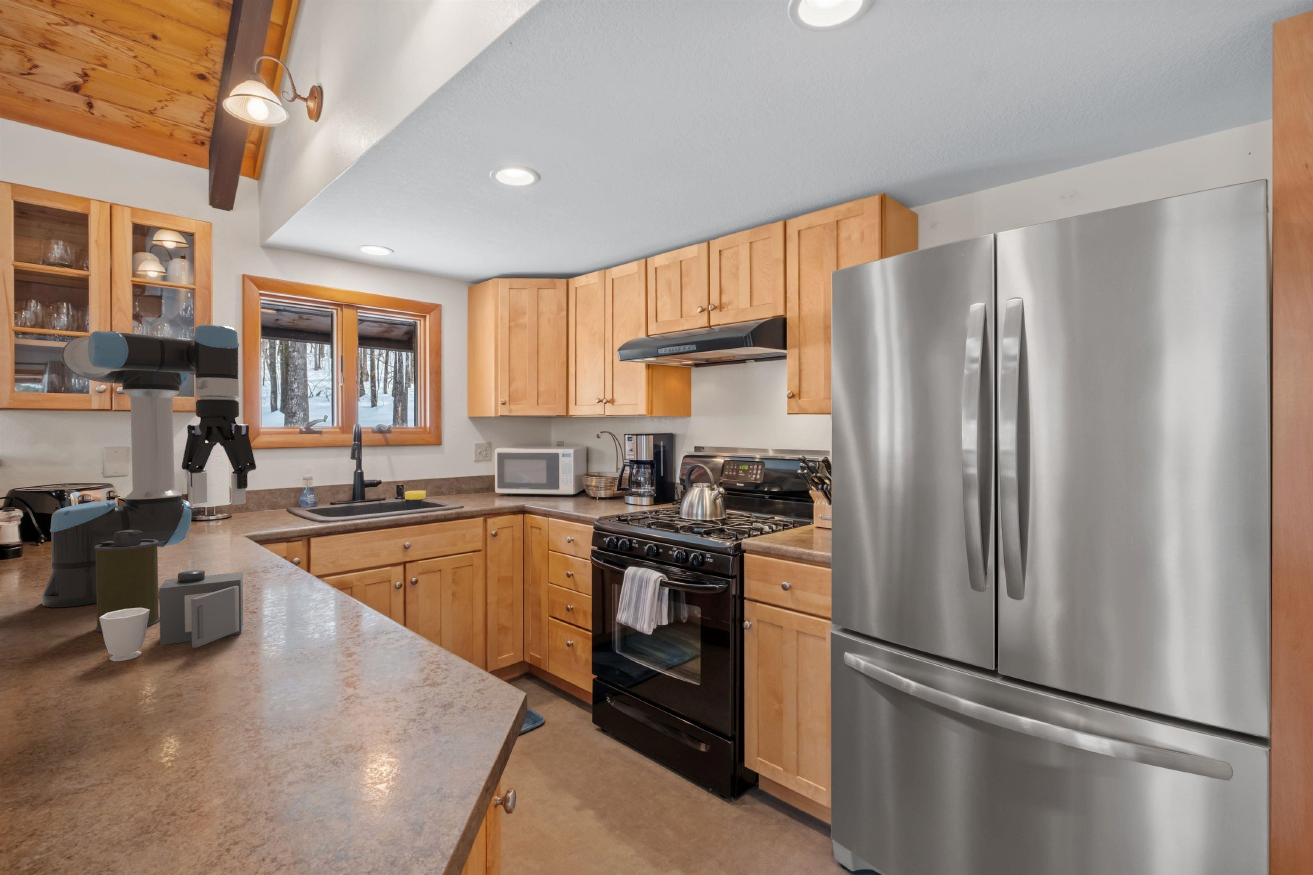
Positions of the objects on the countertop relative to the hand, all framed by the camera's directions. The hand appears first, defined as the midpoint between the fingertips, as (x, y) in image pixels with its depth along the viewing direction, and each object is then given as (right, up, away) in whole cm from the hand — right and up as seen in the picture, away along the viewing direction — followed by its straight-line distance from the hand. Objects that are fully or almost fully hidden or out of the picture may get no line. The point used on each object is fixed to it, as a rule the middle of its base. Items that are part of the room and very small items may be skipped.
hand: (219, 503), depth 133 cm
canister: (-19, -26, 0) cm, 32 cm away
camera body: (+1, -26, -6) cm, 27 cm away
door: (+8, -25, -12) cm, 29 cm away
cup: (-5, -26, -18) cm, 32 cm away
